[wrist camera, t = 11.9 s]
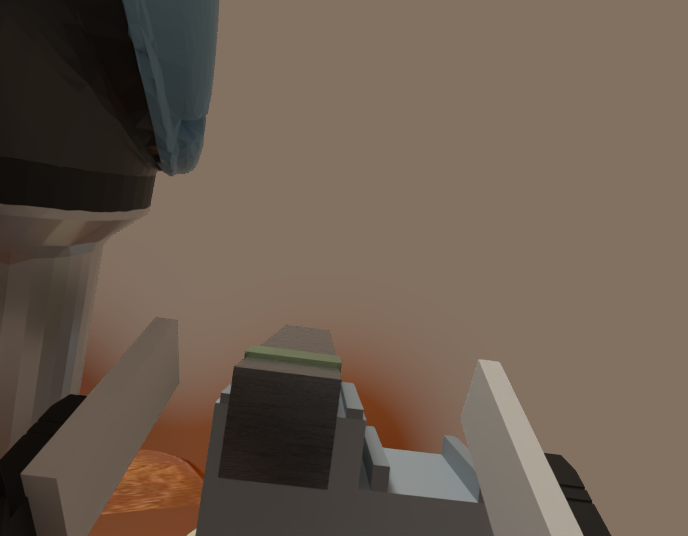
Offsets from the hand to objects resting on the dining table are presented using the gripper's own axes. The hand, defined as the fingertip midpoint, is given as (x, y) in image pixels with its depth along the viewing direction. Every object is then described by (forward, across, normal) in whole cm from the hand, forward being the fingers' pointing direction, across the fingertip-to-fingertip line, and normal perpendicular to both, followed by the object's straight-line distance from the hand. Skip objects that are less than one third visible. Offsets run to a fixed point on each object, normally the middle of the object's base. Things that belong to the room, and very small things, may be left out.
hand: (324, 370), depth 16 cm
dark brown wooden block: (+9, -2, -10) cm, 13 cm away
